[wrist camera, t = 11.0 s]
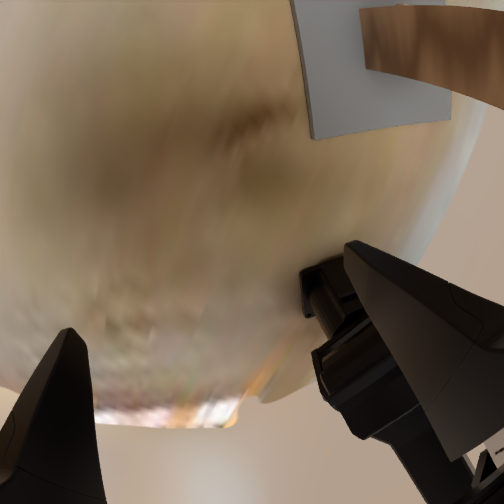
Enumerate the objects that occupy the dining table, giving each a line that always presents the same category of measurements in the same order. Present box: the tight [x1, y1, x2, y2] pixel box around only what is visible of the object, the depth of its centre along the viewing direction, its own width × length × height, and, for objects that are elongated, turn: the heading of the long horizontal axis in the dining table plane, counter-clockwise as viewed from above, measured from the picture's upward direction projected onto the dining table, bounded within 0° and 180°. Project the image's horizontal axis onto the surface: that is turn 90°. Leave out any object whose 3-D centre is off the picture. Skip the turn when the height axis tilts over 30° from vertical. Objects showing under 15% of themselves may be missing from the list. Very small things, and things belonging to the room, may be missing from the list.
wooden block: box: [359, 4, 504, 110], centre depth 12 cm, size 5×5×12 cm
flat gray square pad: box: [290, 0, 451, 141], centre depth 17 cm, size 14×14×1 cm
